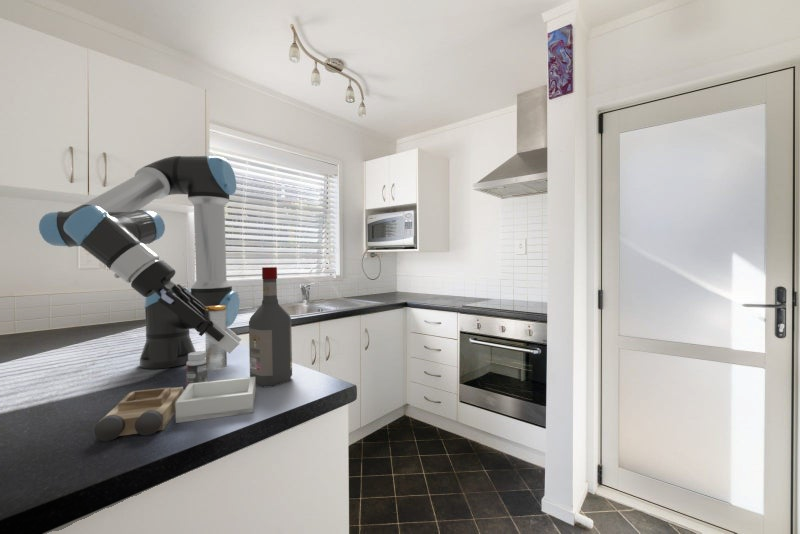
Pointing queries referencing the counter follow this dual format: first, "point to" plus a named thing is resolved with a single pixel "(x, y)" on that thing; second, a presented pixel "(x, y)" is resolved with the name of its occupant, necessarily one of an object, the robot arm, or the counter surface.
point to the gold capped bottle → (214, 352)
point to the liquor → (270, 336)
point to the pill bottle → (196, 368)
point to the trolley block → (139, 413)
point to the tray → (216, 399)
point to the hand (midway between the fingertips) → (235, 346)
